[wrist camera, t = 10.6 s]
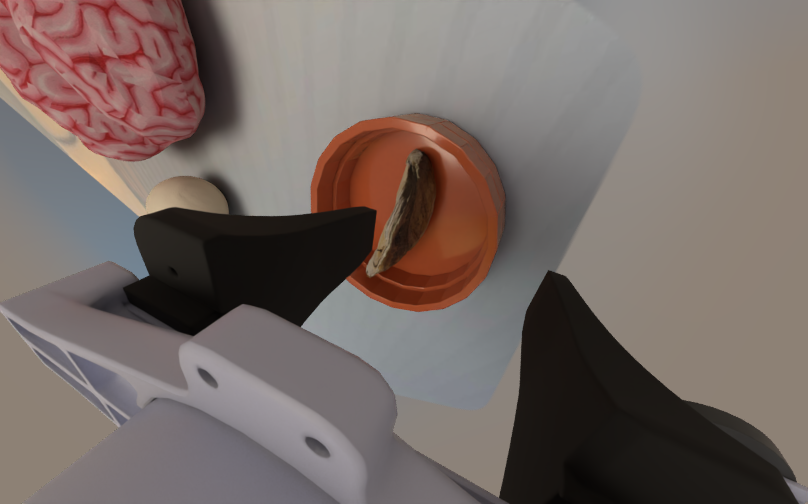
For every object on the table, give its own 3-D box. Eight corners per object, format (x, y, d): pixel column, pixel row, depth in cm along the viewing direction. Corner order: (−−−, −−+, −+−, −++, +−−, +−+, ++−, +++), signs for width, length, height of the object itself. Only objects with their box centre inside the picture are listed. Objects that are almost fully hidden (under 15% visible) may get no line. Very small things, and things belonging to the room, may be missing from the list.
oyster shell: (427, 173, 25) (389, 280, 26) (389, 155, 24) (350, 269, 24) (466, 165, 20) (417, 301, 20) (421, 141, 18) (369, 288, 19)
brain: (129, -178, 19) (-179, -378, 11) (264, 109, 25) (128, 116, 17) (58, -7, 28) (-135, -47, 20) (168, 171, 34) (51, 194, 26)
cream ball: (230, 240, 35) (173, 266, 30) (190, 189, 34) (123, 207, 29) (254, 216, 31) (194, 241, 26) (210, 158, 30) (137, 171, 25)
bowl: (538, 140, 18) (536, 152, 14) (473, 302, 25) (461, 338, 21) (349, 95, 21) (308, 95, 18) (341, 249, 28) (311, 272, 25)
